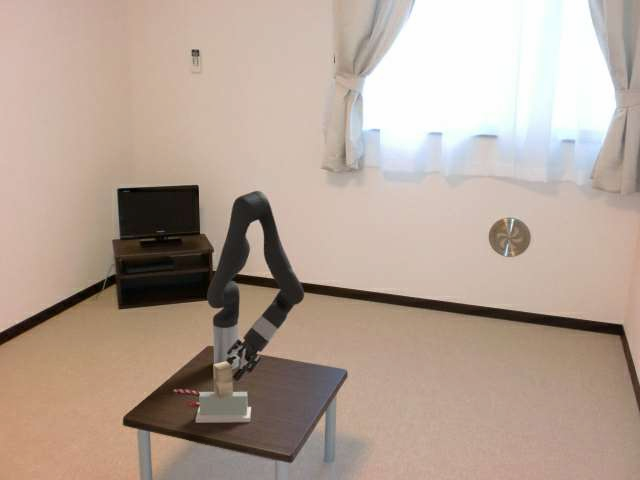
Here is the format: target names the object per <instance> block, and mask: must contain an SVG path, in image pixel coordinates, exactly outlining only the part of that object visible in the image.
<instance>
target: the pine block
mask: <svg viewBox="0 0 640 480" xmlns="http://www.w3.org/2000/svg"><path fill="white" fill-rule="evenodd" d="M212 367H213V369H212V370H213V392H214V393H215V394H216V395H217V396H218V397H219V398H220V399H221V398H225V397H228V396H232V395H233V392H234V382H233V380H234V379H233V378H232V377H233V375H234V374H233V370H232V366H231V365H230V364H229V363H228V362H227V361H225V362H221V363H217V364H214V363H213V364H212Z"/></svg>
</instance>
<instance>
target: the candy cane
mask: <svg viewBox="0 0 640 480" xmlns="http://www.w3.org/2000/svg"><path fill="white" fill-rule="evenodd" d="M173 392H174V393H177V392H180V394H188V393H190V395H195V394H196V396H198V397H199V396H200V392H201V391H196V390H192V389H191V390H190V389H182V388H181V389H180V388H175V389H173ZM188 405H190V406H192V405H193V407H198V406H199V402H194V401H189V402H188ZM199 407H200V406H199Z"/></svg>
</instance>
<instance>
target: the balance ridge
mask: <svg viewBox="0 0 640 480" xmlns="http://www.w3.org/2000/svg"><path fill="white" fill-rule="evenodd" d="M199 392H200V396H199V395H198V399H199V400H198V401H199V402H198V403H199V407H198V409H197V413H196V416H195V423H196V424H197V423H250V421H251V416H252V414H251V413H252V406H248V404H249V403H248V391H233V395H232V396H228V397H225V398H221V399H220V398H219V397H218V396H217V395H216V394H215V393H214V391H199Z"/></svg>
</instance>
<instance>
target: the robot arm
mask: <svg viewBox="0 0 640 480" xmlns="http://www.w3.org/2000/svg"><path fill="white" fill-rule="evenodd" d="M272 209H273V208H272V206H271V204H270V201H269V199H268V197H267V196H266V194H265V193H264V192H262V191H259V190H255V191H251V192H249V193H246V194H243V195H241V196H238V197H237V198H236V199H235V200H234V202H233V205H232V208H231V213H230V220H229V225H228V229H227V233H226V238H225V241H224V244H223V247H222V250H221V253H220V256H219V259H218V260H219V261H218V264H217V267H216V269H215V272H214V275H213V277H212V279H211V281H210V283H209V285H208V288H207V289H208V290H207V294H206V296H207V297H206V299H207V303H208V305H209V306H210V307H211V308H213V309H221V310H220V311H218V312H217V313H216V314H214V316H213V317H212V332H213V333H212V335H213V338H212V339H213V364H217V363H221V362H225V361H227V362H228V363H229V364H230V365H231V366H232V371H233V370H235V369H237V368H238V367H239V368H238V369H237V370H236V372H235V373H234V374H233V377H232V378H233V380H234V381H236V382H238V381H239V380H241V379H242V377H243V375H244V374H245V373H249V374H251V373H252V372H253V370H254V369H255V367H256V366H257V365H258V363H259V362H260V361H261V359H262V357H261V356H260V355H259V354H258V352H259V353H261V352H263V350H265V348H266V347H267V345H268V344H269V343H270V341H271V340H272V339H273V338H274V337H275V335H276V333H277V332H278V330H279V329H280V327H281V326H282V325H283V323H284V322H285V321H286V319H287V317H288V314H289V313H290V311H291V310H292V309H293V307H294V306H295V305H298V304H300V303H302V301H303V300H304V297H305V291H304V288H303V286H302V283H301V282H300V280H299V278H298V277H297V275H296V273H295V271H294V270H293V267H292V264H291V262H290V260H289V258H288V256H287V253H286V251H285V249H284V247H283V244H282V241H281V238H280V235H279V231H278V229H277V224H276V219H275V217H274V214H273V210H272ZM256 221H258V222H259V223H260V225H261V228H262V233H263V257H264V261H265V263H266V265H267V267H268V269H269V272H270V274H271V275H272V277H273V279H274V280H275V281H276V284H277V285H278V288H279V289H280V290H279V291H278V293H277V294H276V296H275V298H274V299H273V300H272V302H271V304H270V305H268V307H267V308H266V309H265V310H264V311H263V313H262V314H261V315H260V317H259V318H257V320H256V321H255V322H254V323H253V324H252V326H251V327H250V328H249V330H247V332H246V333H245V335H244V336H243V338H242V339H243V341H242V340H240V339H239V318H240V317H239V316H240V301H241V300H240V298H241V297H240V289H239V285H238V284H237V283H236V281H234V280H233V279H234V278H235V277H236V276H237V275H238V274H239V273H240V272H241V271H242V270H243V269H244V268H245V265H246V264H247V261H248V258H249V255H250V251H251V246H250V243H249V240H248V239H247V232H248V229H249V228H250V225H251V224H252V223H253V222H254V223H255V222H256ZM239 360H240V362H241V364H240V366H239V363H240V362H239Z"/></svg>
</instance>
